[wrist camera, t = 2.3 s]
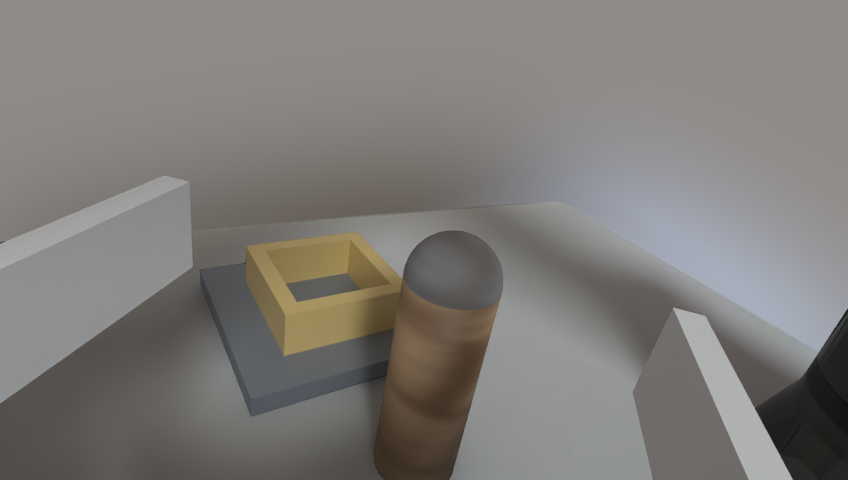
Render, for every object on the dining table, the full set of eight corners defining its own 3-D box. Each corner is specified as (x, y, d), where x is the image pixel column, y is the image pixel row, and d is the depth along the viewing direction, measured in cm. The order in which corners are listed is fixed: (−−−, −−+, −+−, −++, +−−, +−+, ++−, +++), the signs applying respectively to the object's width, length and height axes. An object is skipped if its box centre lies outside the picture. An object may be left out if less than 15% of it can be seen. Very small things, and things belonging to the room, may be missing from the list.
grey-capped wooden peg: (426, 415, 34) (472, 209, 27) (469, 474, 30) (535, 254, 23) (360, 440, 31) (391, 219, 24) (399, 508, 27) (449, 270, 20)
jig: (366, 258, 51) (371, 214, 49) (453, 354, 40) (465, 303, 38) (200, 284, 43) (197, 233, 41) (251, 416, 31) (251, 355, 29)
